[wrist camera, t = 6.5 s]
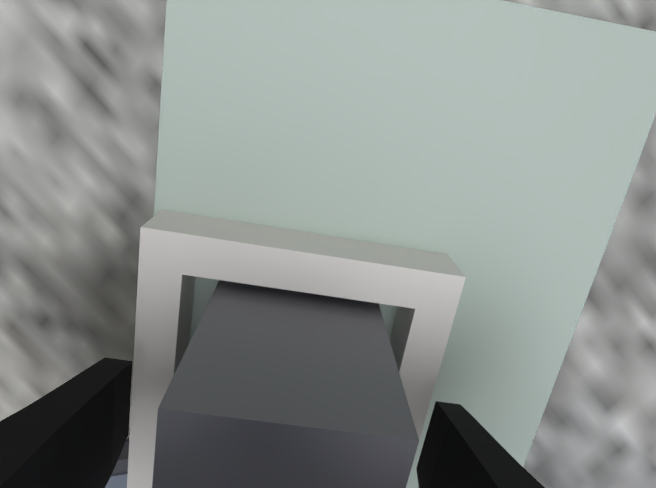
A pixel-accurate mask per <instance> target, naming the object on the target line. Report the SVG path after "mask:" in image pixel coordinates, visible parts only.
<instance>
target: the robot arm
mask: <svg viewBox="0 0 656 488" xmlns="http://www.w3.org/2000/svg"><path fill="white" fill-rule="evenodd" d="M131 374H132V361H126V360H118V359H111V358H104V359H102V360H101V361H99V362H97V363H96V364H94V365H92V366H91V367H89V368H88V369H86V370H85V371H83V372H81V373H80V374H78V375H77V376H75V377H74V378H72V379H71V380H69V381H67V382H66V383H64V384H63V385H61V386H60V387H58V388H56V389H55V390H53V391H51V392H50V393H48V394H47V395H45V396H43V397H42V398H40V399H39V400H37V401H35V402H34V403H32V404H30V405H29V406H27V407H25V408H23V409H22V410H20V411H18V412H16V413H15V414H13V415H11V416H9V417H7V418H6V419H4V420H2V421H0V488H105V486H106V485H107V483H108V481H109V479H110V477H111V475H112V473H113V470H114V468H115V466H116V463H117V461H118V459H119V456H120V454H121V451H122V449H123V446H124V444H125V441H126V439H127V436H128V432H129V412H130V393H131ZM416 470H417V478H418V485H419V488H544V487H543V486H542V485H541V484H540V483H539V482H538V481H537V480H536V479H535V478H534V477H533V476H532V475H531V474H529V473H528V472H527V471H526V470H525V469H524V468H523V467H522V466H521V465H520V464H519V463H518V462H517V461H516V460H515V459H514V458H513V457H512V456H511V455H510V454H509V453H508V452H507V451H506V450H505V449H504V448H503V447H502V446H501V445H500V444H499V443H498V442H497V441H496V440H495V439H494V438H493V437H492V435H491V434H490V433H489V432H488V431H487V430H486V429H485V428H484V427H483V426H482V425H481V424H480V423H479V422H478V421H477V420H476V419H475V418H474V417H473V416H472V415H471V414H470V413H469V412H468V411H467V410H466V409H465V408H464V407H463V406H461V405H460V404H454V403H446V402H439V401H436V402H435V405H434V409H433V412H432V416H431V419H430V423H429V426H428V430H427V433H426V436H425V440H424V443H423V447H422V450H421V454H420V457H419V461H418V464H417V468H416Z"/></svg>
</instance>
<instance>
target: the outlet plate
mask: <svg viewBox="0 0 656 488" xmlns="http://www.w3.org/2000/svg"><path fill="white" fill-rule="evenodd" d="M655 115H656V32H655V31H650V30H645V29H640V28H635V27H630V26H625V25H620V24H616V23H611V22H606V21H601V20H596V19H591V18H586V17H581V16H576V15H572V14H567V13H562V12H557V11H552V10H547V9H542V8H537V7H532V6H527V5H523V4H518V3H513V2H508V1H503V0H167V5H166V21H165V37H164V54H163V70H162V86H161V103H160V119H159V135H158V152H157V168H156V184H155V200H154V216H153V217H152V218H151V219H150V220H149V221H147V222H146V223H145V224H144V225H143V226H141V228H140V247H139V266H138V285H137V304H136V323H135V342H134V360H133V379H132V398H131V417H130V436H129V455H128V474H127V488H152V482H153V468H154V455H155V441H156V427H157V414H158V407H159V405H160V403H161V401H162V399H163V397H164V395H165V393H166V390H167V388H168V386H169V384H170V382H171V380H172V378H173V376H174V374H175V372H176V370H177V367H178V365H179V363H180V361H181V359H182V357H183V355H184V353H185V351H186V349H187V347H188V344H189V342H190V340H191V338H192V336H193V334H194V332H195V330H196V328H197V326H198V324H199V321H200V319H201V317H202V315H203V313H204V311H205V309H206V307H207V305H208V303H209V301H210V299H211V296H212V294H213V292H214V290H215V288H216V286H217V284H218V282H219V280H223V281H230V282H236V283H243V284H250V285H257V286H264V287H270V288H277V289H284V290H291V291H298V292H304V293H311V294H318V295H325V296H332V297H338V298H345V299H352V300H359V301H366V302H372V303H379V306H380V310H381V313H382V316H383V320H384V323H385V327H386V330H387V333H388V337H389V340H390V344H391V347H392V350H393V354H394V357H395V360H396V364H397V367H398V371H399V374H400V377H401V381H402V384H403V387H404V391H405V394H406V398H407V401H408V404H409V408H410V411H411V415H412V418H413V421H414V425H415V428H416V431H417V435H418V438H419V443H418V447H417V450H416V454H415V457H414V461H413V464H412V468H411V471H410V475H409V478H408V482H407V485H406V488H419V485H418V478H417V470H416V468H417V464H418V461H419V457H420V454H421V450H422V447H423V443H424V440H425V436H426V433H427V430H428V426H429V423H430V419H431V416H432V412H433V409H434V405H435V402H436V401H439V402H446V403H454V404H460V405H461V406H463V407H464V408H465V409H466V410H467V411H468V412H469V413H470V414H471V415H472V416H473V417H474V418H475V419H476V420H477V421H478V422H479V423H480V424H481V425H482V426H483V427H484V428H485V429H486V430H487V431H488V432H489V433H490V434H491V435H492V437H493V438H494V439H495V440H496V441H497V442H498V443H499V444H500V445H501V446H502V447H503V448H504V449H505V450H506V451H507V452H508V453H509V454H510V455H511V456H512V457H513V458H514V459H515V460H516V461H517V462H518V463H519V464H520V465H521V466H522V467H523V466H524V463H525V461H526V458H527V456H528V453H529V450H530V448H531V445H532V442H533V440H534V437H535V434H536V432H537V429H538V426H539V424H540V421H541V418H542V416H543V413H544V410H545V408H546V405H547V402H548V400H549V397H550V394H551V392H552V389H553V386H554V384H555V381H556V378H557V376H558V373H559V370H560V368H561V365H562V362H563V360H564V357H565V354H566V352H567V349H568V347H569V344H570V341H571V339H572V336H573V333H574V331H575V328H576V325H577V323H578V320H579V317H580V315H581V312H582V309H583V307H584V304H585V301H586V299H587V296H588V293H589V291H590V288H591V285H592V283H593V280H594V277H595V275H596V272H597V269H598V267H599V264H600V261H601V259H602V256H603V253H604V251H605V248H606V245H607V243H608V240H609V238H610V235H611V232H612V230H613V227H614V224H615V222H616V219H617V216H618V214H619V211H620V208H621V206H622V203H623V200H624V198H625V195H626V192H627V190H628V187H629V184H630V182H631V179H632V176H633V174H634V171H635V168H636V166H637V163H638V160H639V158H640V155H641V152H642V150H643V147H644V144H645V142H646V139H647V137H648V134H649V131H650V129H651V126H652V123H653V121H654V118H655Z"/></svg>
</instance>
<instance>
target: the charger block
mask: <svg viewBox="0 0 656 488" xmlns="http://www.w3.org/2000/svg"><path fill="white" fill-rule="evenodd" d="M418 443H419V438H418V435H417V431H416V428H415V425H414V421H413V418H412V415H411V411H410V408H409V404H408V401H407V398H406V394H405V391H404V387H403V384H402V381H401V377H400V374H399V371H398V367H397V364H396V360H395V357H394V354H393V350H392V347H391V344H390V340H389V337H388V333H387V330H386V327H385V323H384V320H383V316H382V313H381V310H380V306H379V303H372V302H366V301H359V300H352V299H345V298H338V297H332V296H325V295H318V294H311V293H304V292H298V291H291V290H284V289H277V288H270V287H264V286H257V285H250V284H243V283H236V282H230V281H223V280H219V282H218V284H217V286H216V288H215V290H214V292H213V294H212V296H211V299H210V301H209V303H208V305H207V307H206V309H205V311H204V313H203V315H202V317H201V319H200V321H199V324H198V326H197V328H196V330H195V332H194V334H193V336H192V338H191V340H190V342H189V344H188V347H187V349H186V351H185V353H184V355H183V357H182V359H181V361H180V363H179V365H178V367H177V370H176V372H175V374H174V376H173V378H172V380H171V382H170V384H169V386H168V388H167V390H166V393H165V395H164V397H163V399H162V401H161V403H160V405H159V407H158V414H157V427H156V441H155V455H154V468H153V482H152V488H406V485H407V482H408V478H409V475H410V471H411V468H412V464H413V461H414V457H415V454H416V450H417V447H418Z"/></svg>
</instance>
